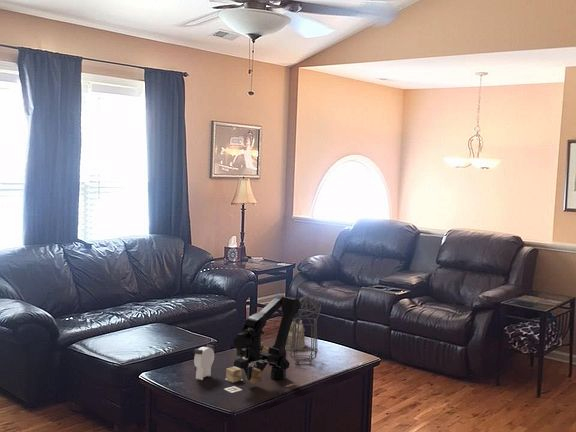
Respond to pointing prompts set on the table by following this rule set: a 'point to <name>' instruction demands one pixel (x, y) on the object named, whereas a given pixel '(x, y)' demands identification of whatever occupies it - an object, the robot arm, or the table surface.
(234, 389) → the board
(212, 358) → the white rounded piece
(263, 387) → the table surface
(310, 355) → the geometric lantern
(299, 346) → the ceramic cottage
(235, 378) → the oak block
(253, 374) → the walnut block
